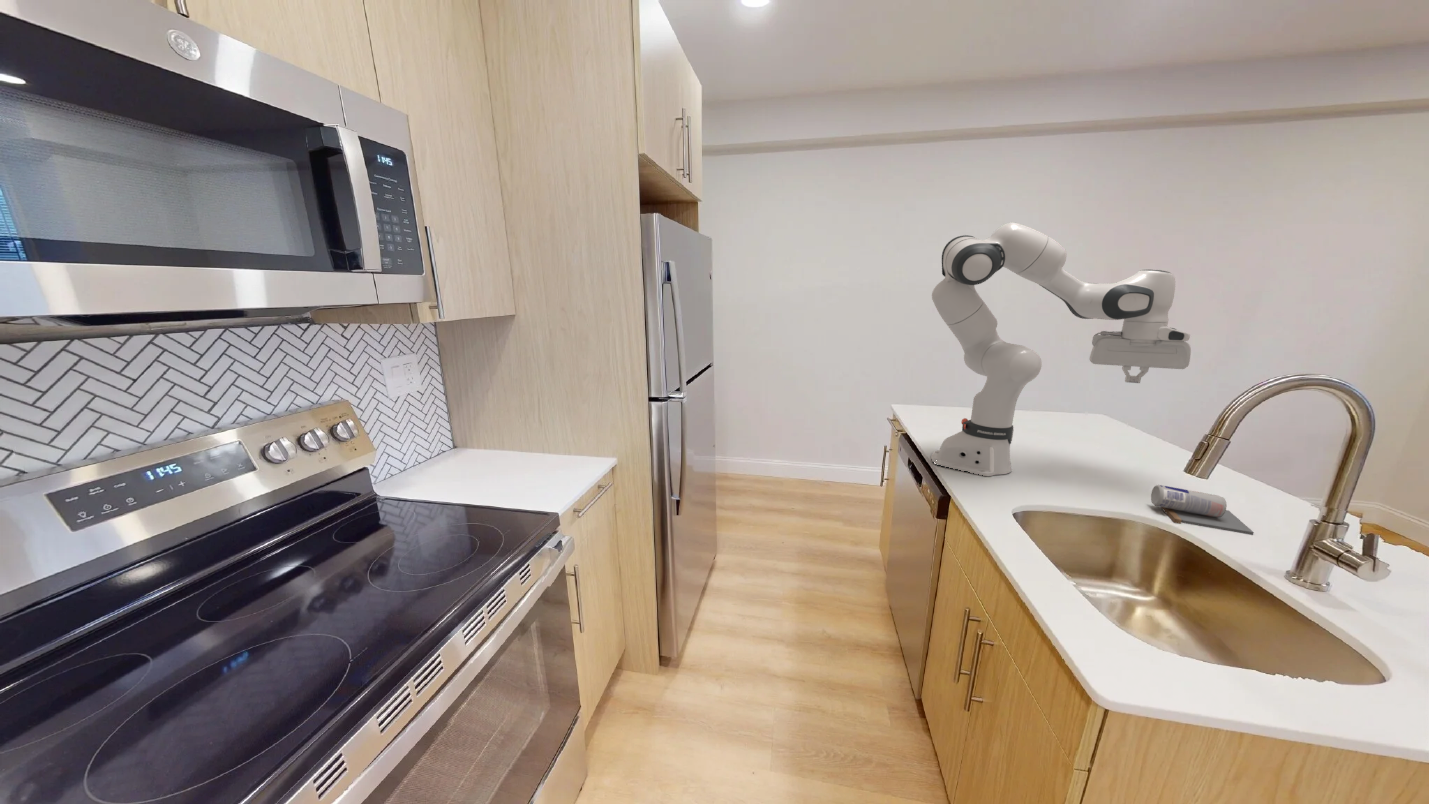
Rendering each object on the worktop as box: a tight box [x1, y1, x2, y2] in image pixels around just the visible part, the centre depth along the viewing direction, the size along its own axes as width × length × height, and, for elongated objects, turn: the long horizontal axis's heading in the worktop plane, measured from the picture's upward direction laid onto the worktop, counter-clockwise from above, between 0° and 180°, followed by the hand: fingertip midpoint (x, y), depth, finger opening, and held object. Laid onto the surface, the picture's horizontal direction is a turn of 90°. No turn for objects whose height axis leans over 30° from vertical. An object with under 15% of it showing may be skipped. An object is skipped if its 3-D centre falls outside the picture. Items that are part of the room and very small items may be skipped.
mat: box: [1172, 509, 1255, 535], centre depth 112 cm, size 12×12×1 cm
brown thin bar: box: [1160, 507, 1182, 524], centre depth 115 cm, size 1×14×1 cm, turn 151°
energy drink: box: [1150, 484, 1227, 517], centre depth 113 cm, size 5×5×12 cm
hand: (1132, 382), depth 127 cm, fingers closed
